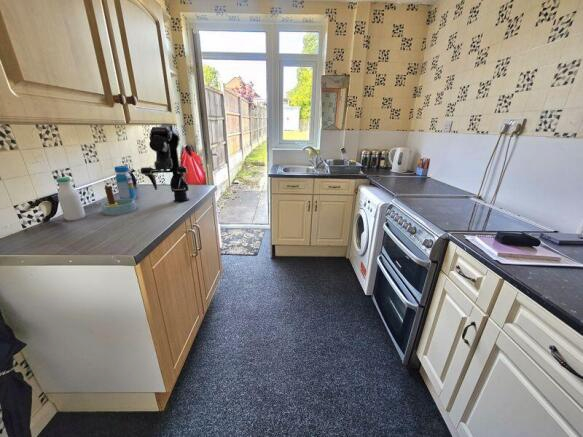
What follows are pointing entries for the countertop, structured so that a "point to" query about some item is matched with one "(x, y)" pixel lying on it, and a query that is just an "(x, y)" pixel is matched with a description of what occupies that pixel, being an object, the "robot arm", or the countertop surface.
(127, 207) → the bowl
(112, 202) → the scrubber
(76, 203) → the milk bottle
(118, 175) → the beverage bottle
